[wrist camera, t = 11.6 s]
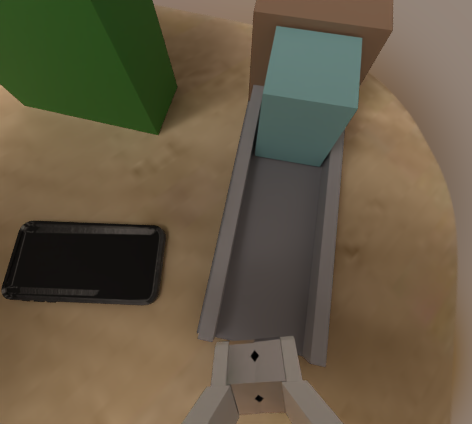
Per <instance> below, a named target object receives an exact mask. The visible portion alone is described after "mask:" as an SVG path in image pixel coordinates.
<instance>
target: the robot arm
mask: <svg viewBox="0 0 472 424" xmlns="http://www.w3.org/2000/svg"><path fill="white" fill-rule="evenodd" d="M258 413H286V414H287V416H288V418H289V419H290V421H291V422H292V424H343V423H342V421H341V420H340V419H339V418H338V417H337V415H336V414H335V413H334V412H333V411H332V410H331V408H330V407H329V406H328V405H327V404H326V402H325V401H324V400H323V399H322V398H321V396H320V395H319V394H318V393H317V392H316V391H315V389H314V388H313V387H312V386H311V385H310V383H309V382H308V381H307V380H303V379H302V374H301V369H300V364H299V359H298V354H297V349H296V344H295V339H294V337H293V336H285V337H270V338H260V339H255V340H240V341H223V342H217V343H216V346H215V352H214V361H213V369H212V378H211V386H209V387H206V388H205V390H204V391H203V393H202V394H201V396H200V397H199V399H198V400H197V402H196V403H195V404H194V406H193V407H192V409H191V410H190V412H189V413H188V415H187V416H186V418H185V419H184V421H183V422H182V423H181V424H236V423H237V421H238V419H239V415H247V414H258Z"/></svg>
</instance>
